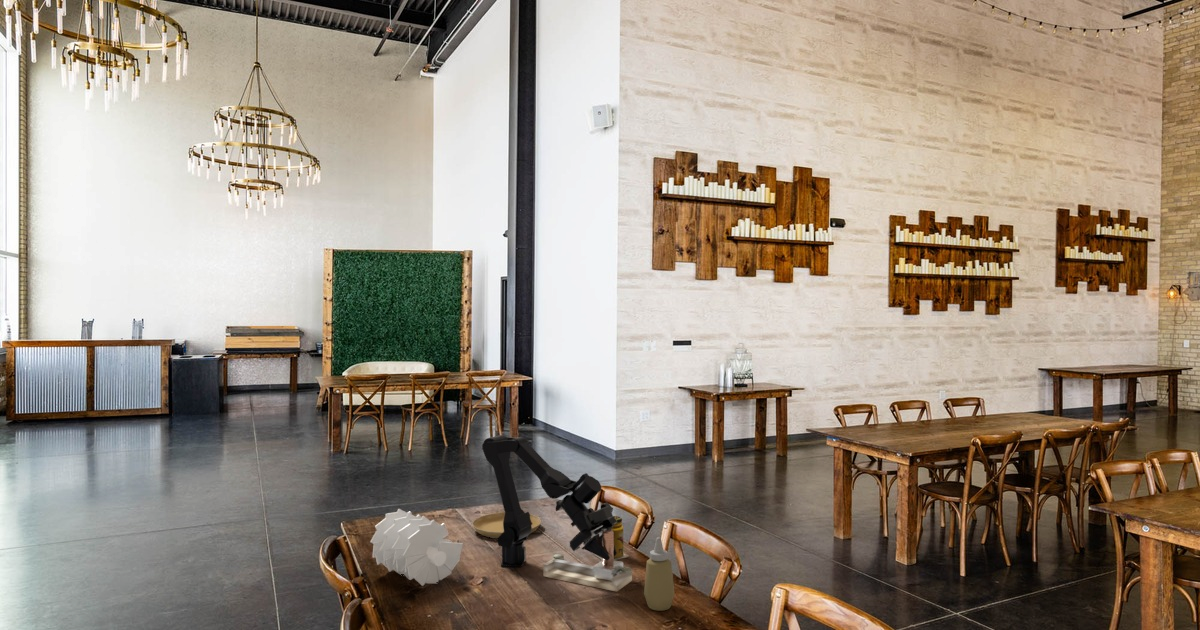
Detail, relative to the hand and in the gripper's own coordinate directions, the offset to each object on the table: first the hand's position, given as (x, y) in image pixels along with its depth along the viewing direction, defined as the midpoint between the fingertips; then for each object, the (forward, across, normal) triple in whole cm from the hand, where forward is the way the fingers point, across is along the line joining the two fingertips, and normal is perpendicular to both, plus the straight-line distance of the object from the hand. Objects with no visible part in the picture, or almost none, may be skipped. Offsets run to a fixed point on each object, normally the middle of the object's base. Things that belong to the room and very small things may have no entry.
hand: (612, 557), depth 204 cm
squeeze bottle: (+18, -8, -8) cm, 22 cm away
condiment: (-2, +20, +14) cm, 24 cm away
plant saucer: (-34, +26, +46) cm, 63 cm away
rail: (-1, 0, +11) cm, 11 cm away
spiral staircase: (-33, -22, +44) cm, 59 cm away
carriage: (+3, 0, +5) cm, 6 cm away
